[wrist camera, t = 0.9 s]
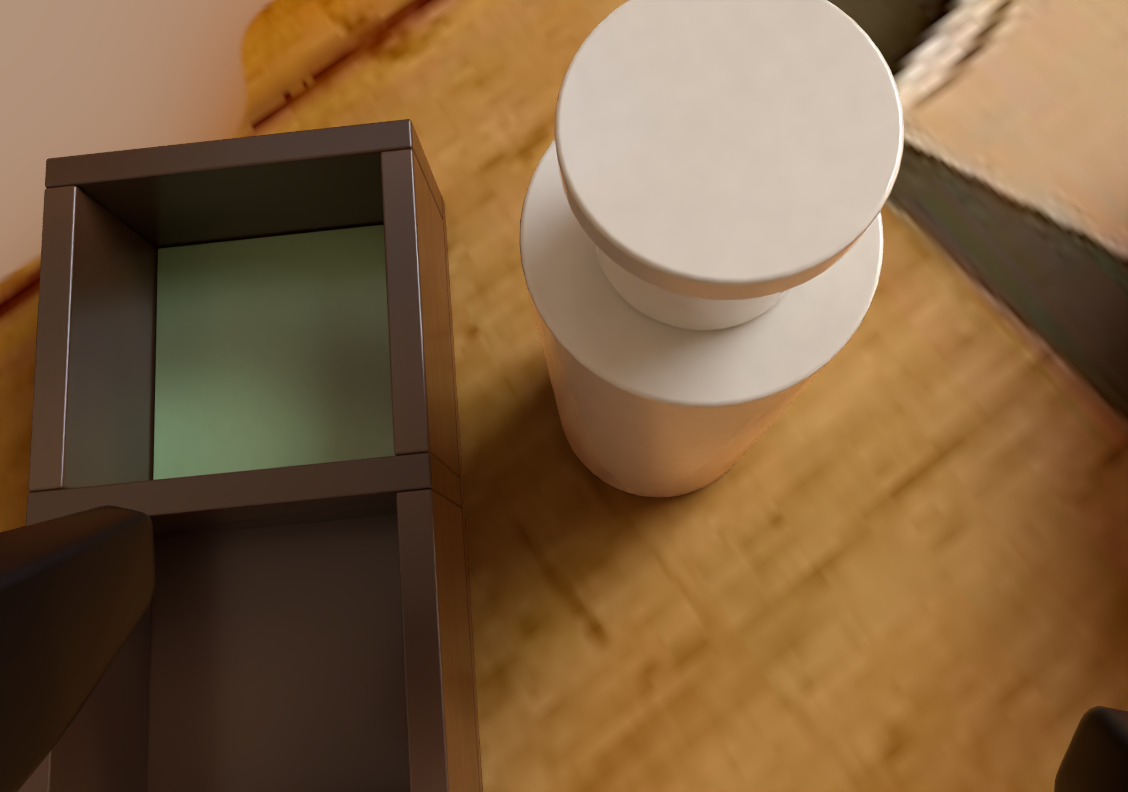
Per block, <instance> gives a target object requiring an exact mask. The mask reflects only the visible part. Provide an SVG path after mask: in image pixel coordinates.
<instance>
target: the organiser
mask: <svg viewBox="0 0 1128 792" xmlns="http://www.w3.org/2000/svg"><path fill="white" fill-rule="evenodd" d="M45 178H46V179H45V186H46V188H47V189H45V196H44V213H43V231H42V249H41V267H40V286H39V304H38V322H37V340H36V359H35V377H34V395H33V414H32V432H31V450H30V469H29V487H28V489H29V491H30V493H28V496H27V515H26V526H28V525H32V524H35V523H39V522H43V521H47V520H51V519H54V518H58V517H62V516H66V515H70V514H74V513H77V512H81V511H85V510H89V509H93V508H96V507H100V506H105V505H112V506H117V507H122V508H127V509H132V510H137V511H141V512H144V513H146V514H147V515H148V516H149V517H150V519H151V521H152V524H153V532H154V554H155V576H156V584H155V591H154V595H153V598H152V601H151V603H150V605H149V607H148V609H147V611H146V612H145V614H144V615H143V617H142V618H141V620H140V621H139V623H138V624H137V626H136V627H135V629H134V630H133V632H132V633H131V635H130V636H129V638H128V639H127V641H126V642H125V644H124V645H123V647H122V648H121V650H120V651H119V653H118V654H117V656H116V657H115V659H114V660H113V662H112V663H111V665H110V666H109V668H108V669H107V671H106V672H105V674H104V675H103V677H102V678H101V680H100V681H99V683H98V684H97V686H96V687H95V689H94V691H93V692H92V694H91V695H90V697H89V698H88V700H87V701H86V703H85V704H84V706H83V707H82V709H81V710H80V712H79V713H78V715H77V716H76V717H75V719H74V720H73V722H72V723H71V725H70V726H69V727H68V729H67V730H66V732H65V733H64V734H63V736H62V737H61V738H60V740H59V741H58V742H57V744H56V745H55V746H54V747H53V749H52V750H51V751H50V753H49V754H48V755H47V756H46V758H45V759H44V760H43V762H42V763H41V764H40V765H39V766H38V768H37V769H36V770H35V771H34V773H33V774H32V775H31V776H30V777H29V779H28V780H27V781H26V782H25V784H24V785H23V786H22V787H21V789H20V790H19V791H18V792H483V786H482V771H481V756H480V740H479V725H478V710H477V694H476V679H475V664H474V648H473V633H472V618H471V602H470V587H469V571H468V556H467V541H466V525H465V510H464V495H463V479H462V464H461V449H460V433H459V418H458V403H457V387H456V372H455V356H454V341H453V326H452V310H451V295H450V280H449V264H448V249H447V234H446V218H445V203H444V200H443V198H442V196H441V193H440V191H439V188H438V186H437V183H436V181H435V179H434V176H433V174H432V171H431V169H430V166H429V164H428V161H427V159H426V156H425V154H424V151H423V149H422V146H421V144H420V141H419V139H418V136H417V134H416V132H415V129H414V127H413V124H412V122H411V120H409V119H406V120H397V121H388V122H379V123H370V124H360V125H351V126H342V127H333V128H324V129H315V130H306V131H296V132H287V133H278V134H269V135H260V136H251V137H242V138H232V139H223V140H214V141H205V142H196V143H187V144H178V145H168V146H159V147H151V148H141V149H132V150H123V151H114V152H106V153H105V152H104V153H96V154H87V155H78V156H69V157H59V158H50V159H47V161H46V177H45Z"/></svg>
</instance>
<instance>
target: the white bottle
mask: <svg viewBox="0 0 1128 792" xmlns="http://www.w3.org/2000/svg"><path fill="white" fill-rule="evenodd" d="M554 135H555V139H554V140H553V141H552V143H551V144H550V146H549V147H548V149H547V150H546V152H545V153H544V155H543V156H542V158H541V159H540V161H539V163H538V165H537V167H536V169H535V171H534V174H533V176H532V178H531V180H530V183H529V186H528V189H527V192H526V195H525V199H524V203H523V209H522V214H521V220H520V252H521V261H522V267H523V271H524V275H525V279H526V283H527V287H528V291H529V295H530V300H531V304H532V308H533V312H534V316H535V320H536V324H537V328H538V332H539V336H540V340H541V344H542V348H543V352H544V356H545V360H546V364H547V368H548V372H549V376H550V380H551V384H552V388H553V392H554V396H555V400H556V404H557V408H558V412H559V416H560V420H561V424H562V428H563V431H564V433H565V436H566V438H567V441H568V442H569V444H570V446H571V448H572V449H573V451H574V453H575V454H576V455H577V457H578V458H579V459H580V461H581V462H582V463H583V464H584V465H585V466H586V467H587V468H588V469H589V470H590V471H591V472H592V473H593V474H595V475H596V476H597V477H599V478H600V479H601V480H603V481H604V482H606V483H608V484H610V485H611V486H613V487H615V488H618V489H620V490H622V491H625V492H628V493H632V494H635V495H640V496H647V497H671V496H679V495H683V494H687V493H690V492H693V491H696V490H698V489H701V488H703V487H705V486H707V485H708V484H710V483H712V482H714V481H715V480H717V479H718V478H719V477H721V476H722V475H723V474H724V473H726V472H727V471H728V470H729V469H730V468H731V467H732V466H733V465H734V464H735V463H736V461H737V460H738V459H739V458H740V457H741V456H742V455H743V454H744V453H745V452H746V451H747V450H748V449H749V448H750V447H751V446H752V444H753V443H754V442H755V441H756V440H757V439H758V438H759V437H760V436H761V435H762V434H763V433H764V432H765V431H766V430H767V428H768V427H769V426H770V425H771V424H772V423H773V422H774V421H775V420H776V419H777V418H778V417H779V416H780V415H781V414H782V413H783V411H784V410H785V409H786V408H787V407H788V406H789V405H790V404H791V403H792V402H793V401H794V400H795V399H796V398H797V397H798V395H799V394H800V393H801V392H802V391H803V390H804V389H805V388H806V387H807V386H808V385H809V384H810V383H811V382H812V381H813V380H814V378H815V377H816V376H817V375H818V374H819V373H820V372H821V371H822V370H823V369H824V368H825V367H826V366H827V365H828V364H829V362H830V361H831V360H832V359H833V358H834V357H835V356H836V355H837V354H838V353H839V352H840V351H841V350H842V349H843V348H844V346H845V345H846V344H847V343H848V341H849V340H850V339H851V337H852V336H853V335H854V333H855V332H856V331H857V329H858V328H859V326H860V324H861V322H862V321H863V319H864V317H865V315H866V313H867V311H868V310H869V308H870V305H871V303H872V300H873V297H874V295H875V292H876V289H877V287H878V282H879V277H880V273H881V268H882V262H883V247H884V237H883V224H882V217H881V212H880V211H881V209H882V208H883V206H884V204H885V202H886V200H887V199H888V197H889V195H890V193H891V191H892V188H893V186H894V183H895V181H896V178H897V175H898V173H899V168H900V164H901V159H902V154H903V144H904V121H903V110H902V105H901V101H900V97H899V92H898V88H897V86H896V83H895V81H894V78H893V75H892V73H891V70H890V68H889V66H888V65H887V63H886V61H885V59H884V58H883V56H882V54H881V52H880V51H879V49H878V48H877V47H876V45H875V44H874V43H873V41H872V40H871V39H870V37H869V36H868V35H867V34H866V33H865V31H864V30H863V29H862V28H861V27H860V26H859V25H858V24H857V23H856V22H855V21H854V20H853V19H852V18H850V17H849V16H848V15H847V14H845V13H844V12H843V11H841V10H840V9H839V8H838V7H836V6H835V5H833V4H832V3H830V2H828V1H827V0H628V1H627V2H625V3H624V4H622V5H621V6H619V7H618V8H616V9H615V10H614V11H613V12H611V13H610V14H609V15H608V16H607V17H606V18H605V19H604V20H602V21H601V22H600V23H599V24H598V25H597V26H596V28H595V29H594V30H593V31H592V32H591V33H590V34H589V36H588V37H587V38H586V39H585V40H584V42H583V43H582V45H581V46H580V48H579V49H578V51H577V52H576V54H575V55H574V57H573V59H572V61H571V63H570V65H569V67H568V69H567V71H566V73H565V75H564V78H563V81H562V85H561V88H560V91H559V94H558V99H557V105H556V111H555V133H554Z"/></svg>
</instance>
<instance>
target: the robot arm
mask: <svg viewBox="0 0 1128 792" xmlns="http://www.w3.org/2000/svg"><path fill="white" fill-rule="evenodd" d="M155 584H156V576H155V554H154V532H153V524H152V521H151V519H150V517H149V516H148V515H147V514H146V513H144V512H141V511H137V510H132V509H127V508H122V507H117V506H112V505H105V506H100V507H96V508H93V509H89V510H85V511H81V512H77V513H74V514H70V515H66V516H62V517H58V518H54V519H51V520H47V521H43V522H39V523H35V524H32V525H28V526H24V527H20V528H16V529H12V530H9V531H5V532H1V533H0V792H18V791H19V790H20V789H21V787H22V786H23V785H24V784H25V782H26V781H27V780H28V779H29V777H30V776H31V775H32V774H33V773H34V771H35V770H36V769H37V768H38V766H39V765H40V764H41V763H42V762H43V760H44V759H45V758H46V756H47V755H48V754H49V753H50V751H51V750H52V749H53V747H54V746H55V745H56V744H57V742H58V741H59V740H60V738H61V737H62V736H63V734H64V733H65V732H66V730H67V729H68V727H69V726H70V725H71V723H72V722H73V720H74V719H75V717H76V716H77V715H78V713H79V712H80V710H81V709H82V707H83V706H84V704H85V703H86V701H87V700H88V698H89V697H90V695H91V694H92V692H93V691H94V689H95V687H96V686H97V684H98V683H99V681H100V680H101V678H102V677H103V675H104V674H105V672H106V671H107V669H108V668H109V666H110V665H111V663H112V662H113V660H114V659H115V657H116V656H117V654H118V653H119V651H120V650H121V648H122V647H123V645H124V644H125V642H126V641H127V639H128V638H129V636H130V635H131V633H132V632H133V630H134V629H135V627H136V626H137V624H138V623H139V621H140V620H141V618H142V617H143V615H144V614H145V612H146V611H147V609H148V607H149V605H150V603H151V601H152V598H153V595H154V591H155ZM1054 792H1128V711H1123V710H1118V709H1112V708H1107V707H1102V706H1096V707H1093V708H1090V709H1089V710H1088V711H1087V712H1086V713H1084V715H1083V717H1082V718H1081V720H1080V722H1079V725H1078V727H1077V729H1076V731H1075V734H1074V736H1073V738H1072V740H1071V743H1070V745H1069V747H1068V749H1067V751H1066V754H1065V756H1064V758H1063V760H1062V763H1061V765H1060V767H1059V769H1058V772H1057V775H1056V779H1055V788H1054Z"/></svg>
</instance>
